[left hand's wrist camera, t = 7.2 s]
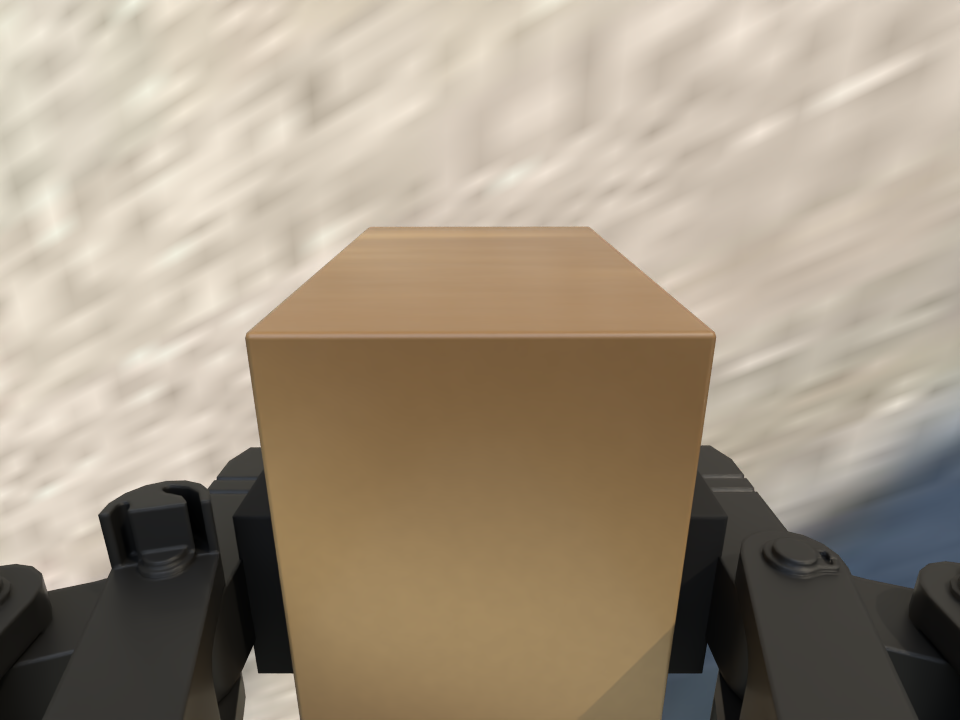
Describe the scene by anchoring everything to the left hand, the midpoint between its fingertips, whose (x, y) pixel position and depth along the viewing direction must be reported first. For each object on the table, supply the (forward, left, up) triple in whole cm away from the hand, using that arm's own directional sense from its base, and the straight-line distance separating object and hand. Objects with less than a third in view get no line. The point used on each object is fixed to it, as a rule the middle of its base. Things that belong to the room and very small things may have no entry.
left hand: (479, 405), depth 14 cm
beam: (+11, +33, -1) cm, 34 cm away
